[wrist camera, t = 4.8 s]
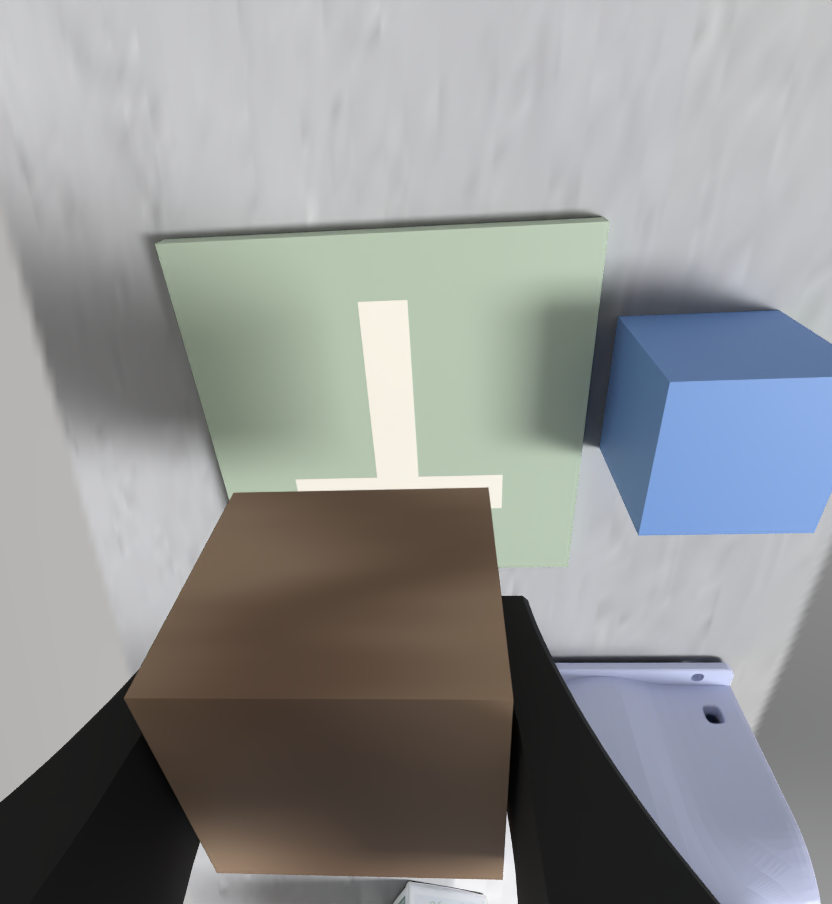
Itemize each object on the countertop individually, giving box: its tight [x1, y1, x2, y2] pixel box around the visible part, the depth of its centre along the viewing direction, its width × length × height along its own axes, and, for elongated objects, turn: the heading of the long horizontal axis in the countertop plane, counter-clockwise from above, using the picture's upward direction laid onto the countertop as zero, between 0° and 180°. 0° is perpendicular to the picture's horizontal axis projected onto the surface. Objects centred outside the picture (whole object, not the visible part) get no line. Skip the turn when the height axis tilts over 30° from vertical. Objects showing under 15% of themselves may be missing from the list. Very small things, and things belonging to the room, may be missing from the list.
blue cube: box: [600, 310, 832, 535], centre depth 16 cm, size 4×4×4 cm
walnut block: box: [124, 487, 513, 880], centre depth 10 cm, size 5×5×4 cm
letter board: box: [155, 217, 610, 567], centre depth 18 cm, size 12×12×1 cm
